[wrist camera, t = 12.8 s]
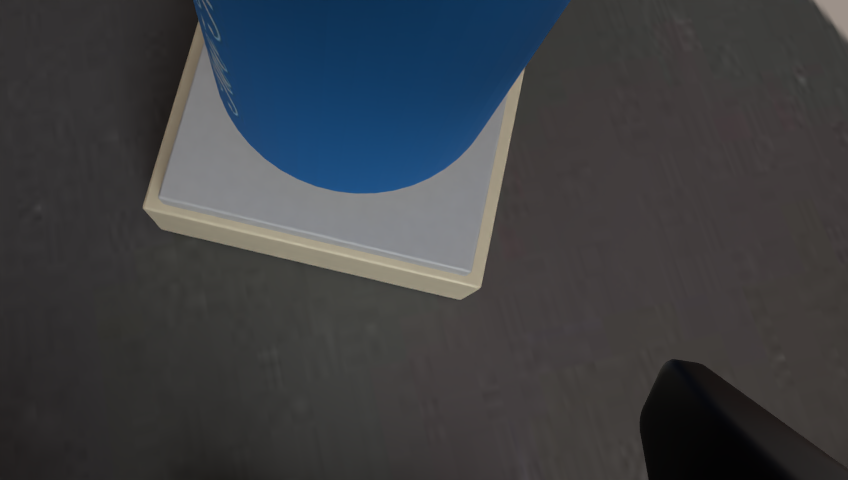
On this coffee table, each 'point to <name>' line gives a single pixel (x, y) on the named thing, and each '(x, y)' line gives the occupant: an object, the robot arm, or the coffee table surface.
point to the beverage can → (368, 80)
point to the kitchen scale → (326, 199)
